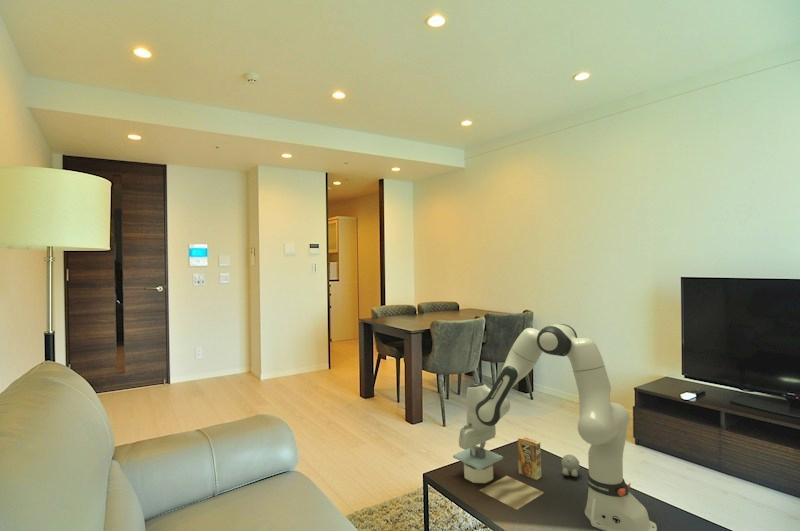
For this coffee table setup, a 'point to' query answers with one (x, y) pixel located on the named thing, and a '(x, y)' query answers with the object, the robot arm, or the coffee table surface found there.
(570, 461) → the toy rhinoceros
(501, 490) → the tan square mat
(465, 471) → the bowl
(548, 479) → the coffee table surface
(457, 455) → the lid
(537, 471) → the candy box
